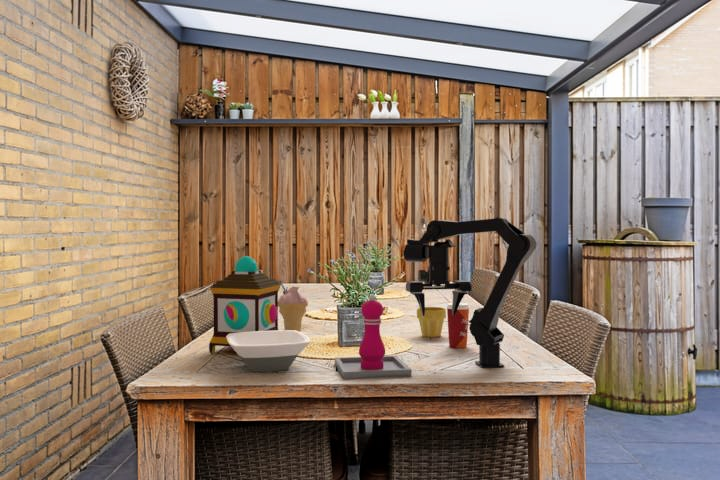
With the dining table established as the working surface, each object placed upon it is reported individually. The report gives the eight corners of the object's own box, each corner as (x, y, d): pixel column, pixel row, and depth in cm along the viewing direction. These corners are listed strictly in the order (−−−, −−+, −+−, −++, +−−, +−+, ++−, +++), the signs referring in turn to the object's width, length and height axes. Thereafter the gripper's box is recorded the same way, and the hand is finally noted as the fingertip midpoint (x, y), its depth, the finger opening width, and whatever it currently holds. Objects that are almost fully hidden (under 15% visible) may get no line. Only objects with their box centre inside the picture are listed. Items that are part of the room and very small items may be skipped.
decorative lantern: (287, 346, 207) (287, 254, 207) (262, 358, 188) (262, 257, 188) (232, 343, 213) (232, 253, 212) (202, 354, 194) (201, 256, 193)
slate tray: (411, 376, 166) (411, 369, 166) (343, 379, 163) (343, 372, 163) (396, 361, 184) (396, 355, 184) (334, 363, 181) (334, 357, 181)
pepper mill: (365, 371, 169) (365, 296, 169) (354, 366, 176) (355, 294, 175) (389, 369, 172) (389, 295, 171) (378, 363, 178) (378, 293, 178)
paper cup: (469, 349, 202) (469, 305, 202) (445, 348, 204) (445, 305, 204) (470, 344, 210) (470, 302, 210) (446, 343, 212) (447, 302, 211)
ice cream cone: (287, 340, 218) (286, 282, 218) (271, 335, 227) (271, 279, 227) (313, 336, 225) (313, 280, 224) (298, 332, 234) (298, 278, 233)
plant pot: (414, 337, 223) (414, 309, 223) (418, 332, 233) (419, 306, 233) (444, 338, 221) (444, 310, 221) (447, 333, 231) (447, 307, 231)
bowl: (230, 379, 163) (230, 347, 163) (224, 361, 185) (224, 332, 185) (315, 374, 169) (315, 342, 169) (298, 356, 191) (298, 329, 191)
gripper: (460, 260, 196) (459, 311, 196) (401, 261, 193) (401, 312, 193) (472, 263, 185) (472, 316, 185) (410, 263, 182) (410, 317, 182)
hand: (438, 315), depth 187 cm, fingers open, 9 cm apart
